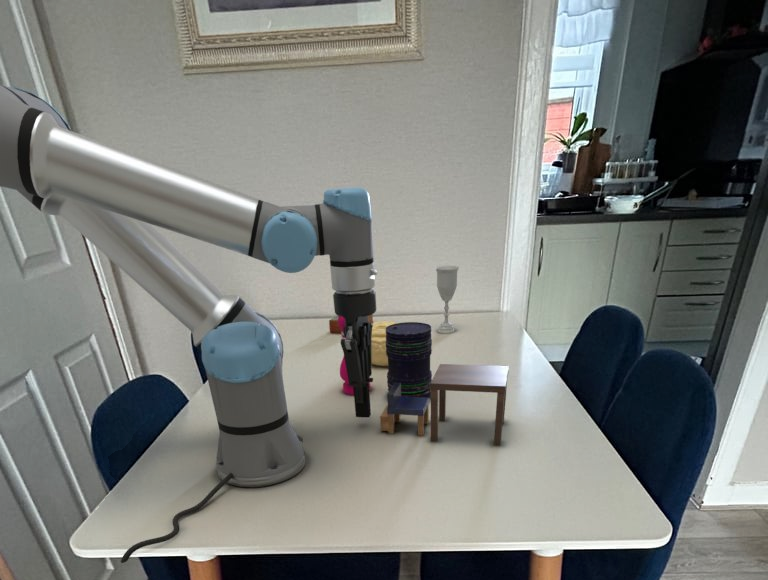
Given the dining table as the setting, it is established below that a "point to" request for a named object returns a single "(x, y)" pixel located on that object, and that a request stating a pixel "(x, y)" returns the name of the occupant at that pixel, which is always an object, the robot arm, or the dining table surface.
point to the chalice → (446, 291)
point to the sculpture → (379, 343)
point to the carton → (335, 327)
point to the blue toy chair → (404, 409)
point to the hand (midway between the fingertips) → (363, 415)
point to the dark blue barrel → (409, 358)
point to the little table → (468, 380)
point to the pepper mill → (343, 371)
